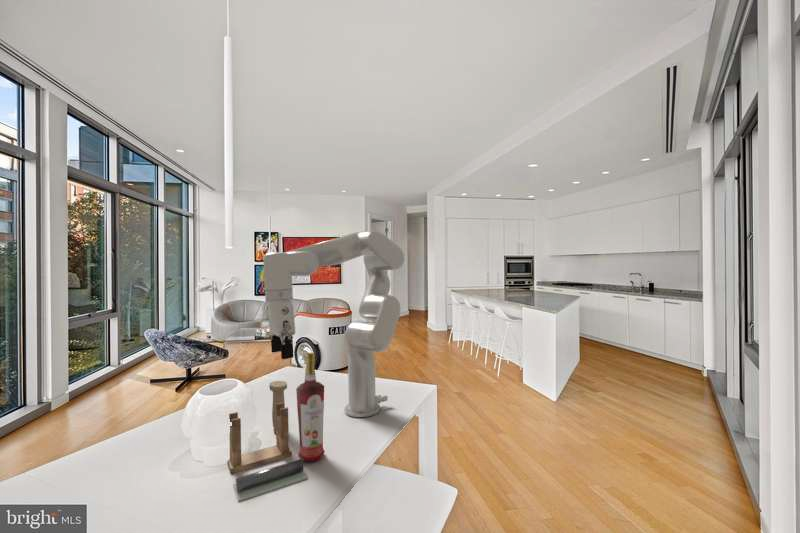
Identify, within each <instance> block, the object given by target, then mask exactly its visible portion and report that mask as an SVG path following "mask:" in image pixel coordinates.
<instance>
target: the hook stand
mask: <svg viewBox="0 0 800 533" xmlns="http://www.w3.org/2000/svg"><path fill="white" fill-rule="evenodd" d="M228 416H229V417H228V419H230V422H232V426H230V433H229V458H230V459H229V460H228V461H227V460H226V462H227V463H226V464H227V466H228V470H229V473H230V475H231V474H234V473H237V472H241V471H244V470H248V469H251V468H256V467H258V466H262V465H265V464H269V463H271V462H275V461H279V460H282V459H286V458H289V457H291V456H292V455H293V454H292V453H293V452H292V450H291V448H290V445H289V444H290V443H289V441H290V440H289V438H290V435H289V432H290V431H289V426H290V425H289V407H288V406H287V407H286V406H285V408H284V403H283V402H282V403H277V404H276V433H275V434H276V437H275V438H276V445H272V446H268V447H265V448H262V449H256V450H254V451H250V452H247V453H242V428H241V427H242V425H241V423H242V421H241V417H239V412H238V411H236V412H230V413H228Z"/></svg>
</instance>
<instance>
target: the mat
mask: <svg viewBox="0 0 800 533" xmlns="http://www.w3.org/2000/svg"><path fill="white" fill-rule="evenodd" d="M305 480H308V476H307V474H306V473H305V471H304V470H303V471H302V472H299V473H296V474H293V475H289V476H286V477H283V478H280V479H277V480H274V481H271V482H268V483H264V484H261V485H258V486H255V487H252V488H249V489H246V490H243V491H240V492H237V490H236V483H234V484H233V488H234V493H235V495H236V496H235V497H236V498H237V502H239V503H240V502H242V501H245V500H247V499H251V498H254V497H257V496H259V495H263V494H266V493H269V492H271V491H274V490H279V489H281V488H283V487H287V486H289V485H292V484H293V485H294V484H296V483H299V482H302V481H305Z"/></svg>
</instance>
